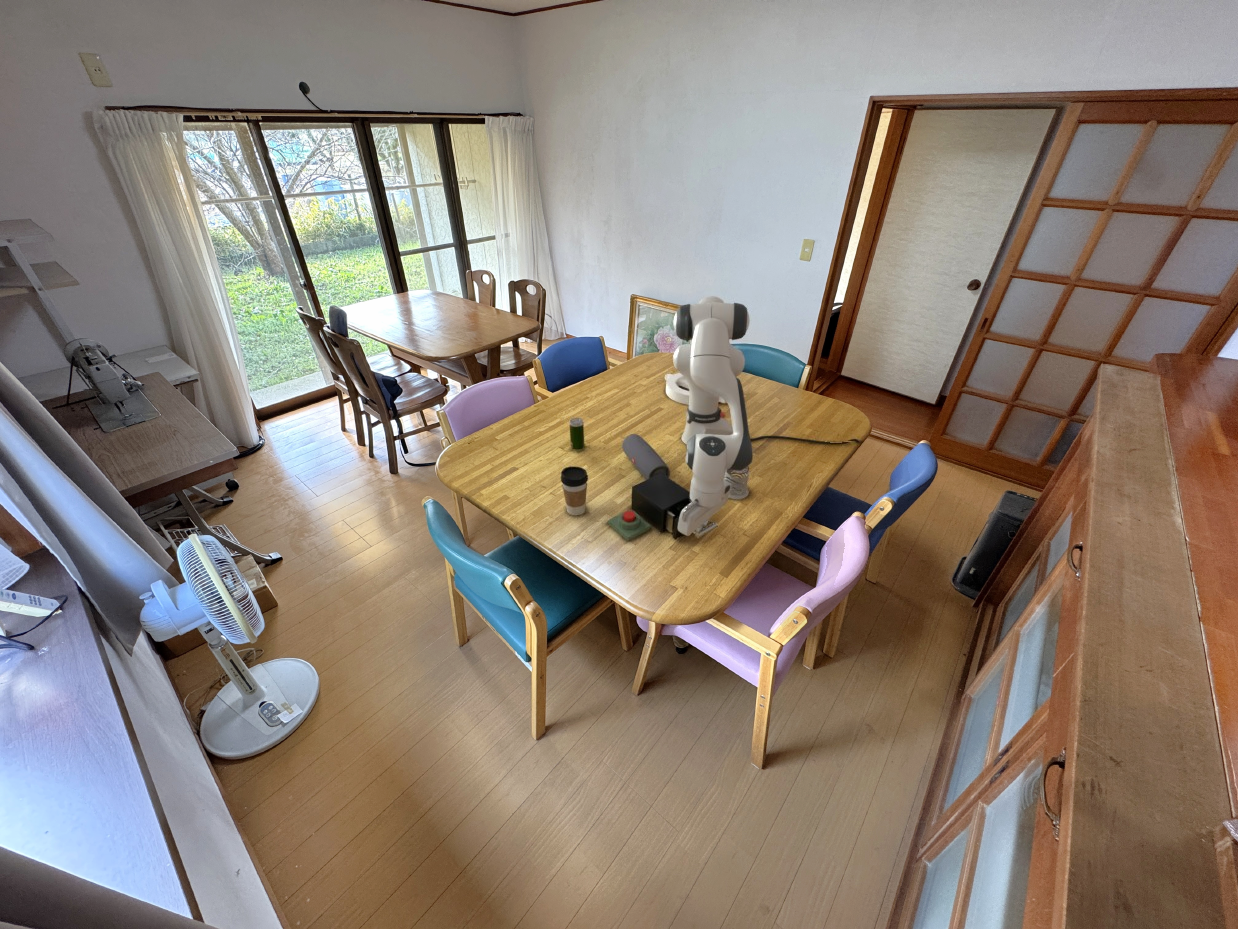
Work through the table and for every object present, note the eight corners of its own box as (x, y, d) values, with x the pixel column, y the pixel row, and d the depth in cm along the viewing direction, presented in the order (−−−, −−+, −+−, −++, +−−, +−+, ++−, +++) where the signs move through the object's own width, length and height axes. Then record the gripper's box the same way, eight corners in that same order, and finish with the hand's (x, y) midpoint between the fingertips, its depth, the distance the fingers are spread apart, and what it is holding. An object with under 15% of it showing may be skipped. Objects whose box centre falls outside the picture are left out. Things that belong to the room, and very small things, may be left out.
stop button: (637, 519, 148) (637, 515, 147) (628, 524, 147) (628, 519, 146) (630, 513, 151) (630, 509, 150) (621, 518, 149) (621, 513, 148)
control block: (650, 529, 149) (650, 520, 147) (627, 541, 145) (628, 532, 143) (630, 512, 156) (630, 504, 154) (607, 523, 151) (607, 515, 149)
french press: (742, 502, 161) (755, 438, 147) (710, 491, 166) (719, 428, 152) (752, 487, 167) (765, 425, 153) (721, 477, 173) (730, 415, 159)
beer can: (575, 452, 185) (573, 425, 179) (568, 446, 189) (566, 419, 182) (587, 448, 188) (586, 421, 181) (580, 442, 192) (579, 416, 185)
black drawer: (719, 537, 145) (722, 518, 141) (692, 553, 139) (695, 534, 135) (672, 503, 159) (674, 485, 155) (646, 516, 153) (647, 498, 149)
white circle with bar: (729, 406, 219) (730, 396, 216) (667, 405, 219) (668, 395, 217) (719, 380, 242) (720, 371, 240) (663, 379, 242) (664, 371, 240)
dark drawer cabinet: (690, 516, 154) (693, 494, 149) (661, 532, 148) (662, 509, 143) (660, 494, 164) (661, 472, 159) (631, 508, 158) (631, 486, 152)
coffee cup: (563, 502, 160) (560, 464, 152) (588, 501, 161) (587, 463, 152) (562, 518, 153) (560, 480, 145) (589, 517, 154) (588, 479, 145)
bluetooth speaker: (620, 458, 183) (620, 435, 177) (642, 452, 186) (643, 430, 180) (646, 491, 165) (647, 467, 160) (670, 485, 168) (672, 461, 163)
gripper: (693, 515, 126) (688, 553, 133) (735, 481, 138) (728, 518, 146) (674, 504, 129) (670, 542, 137) (716, 473, 142) (711, 509, 149)
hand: (700, 530), depth 142 cm, fingers closed
